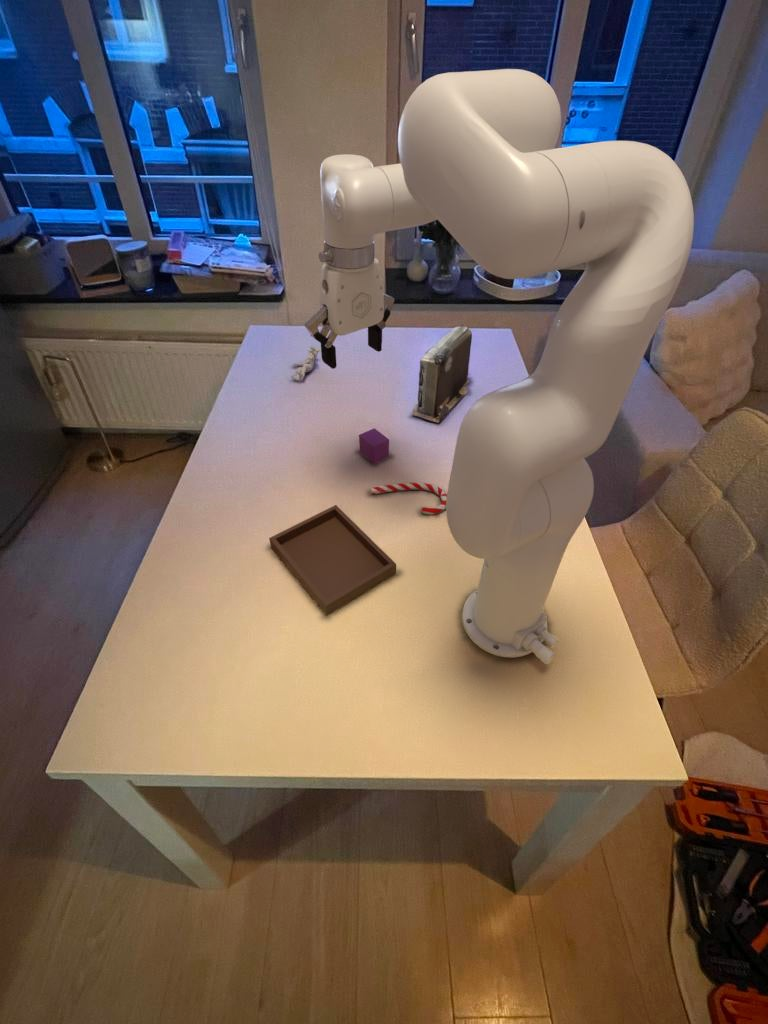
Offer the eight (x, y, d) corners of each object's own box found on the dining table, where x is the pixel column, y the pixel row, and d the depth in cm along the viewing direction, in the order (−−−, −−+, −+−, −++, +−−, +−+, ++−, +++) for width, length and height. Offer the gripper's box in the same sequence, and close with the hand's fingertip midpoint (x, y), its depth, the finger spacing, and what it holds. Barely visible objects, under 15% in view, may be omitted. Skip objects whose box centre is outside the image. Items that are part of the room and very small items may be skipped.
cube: (389, 456, 109) (389, 439, 106) (373, 464, 107) (373, 446, 104) (374, 445, 112) (374, 427, 109) (359, 452, 110) (358, 434, 107)
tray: (396, 573, 86) (396, 564, 85) (326, 615, 81) (325, 606, 79) (336, 514, 96) (335, 504, 95) (271, 547, 91) (268, 537, 89)
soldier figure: (284, 382, 132) (295, 347, 137) (300, 393, 134) (310, 358, 140) (301, 368, 126) (311, 332, 132) (317, 379, 129) (327, 343, 134)
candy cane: (372, 476, 102) (450, 484, 101) (373, 481, 103) (449, 489, 102) (366, 503, 97) (447, 512, 95) (366, 509, 98) (447, 517, 96)
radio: (452, 372, 134) (458, 314, 124) (483, 381, 131) (492, 323, 120) (404, 414, 120) (406, 354, 110) (436, 426, 117) (442, 365, 106)
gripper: (315, 274, 74) (323, 381, 86) (409, 249, 81) (404, 350, 94) (287, 258, 78) (299, 363, 90) (379, 235, 86) (378, 334, 98)
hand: (352, 356), depth 92 cm, fingers open, 9 cm apart
